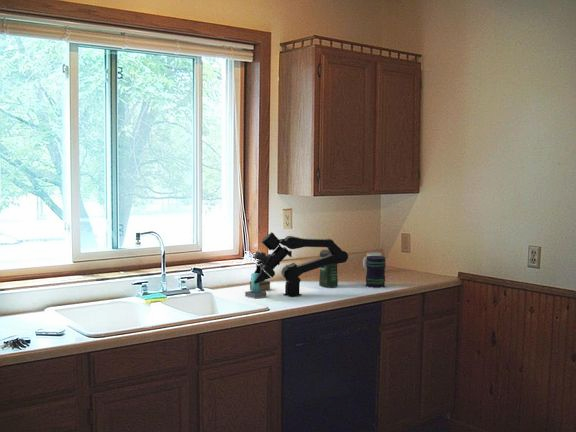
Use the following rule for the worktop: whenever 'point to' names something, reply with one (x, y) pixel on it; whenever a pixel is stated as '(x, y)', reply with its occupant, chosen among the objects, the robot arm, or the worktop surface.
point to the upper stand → (262, 285)
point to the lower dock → (257, 295)
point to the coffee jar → (328, 273)
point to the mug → (370, 255)
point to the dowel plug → (254, 286)
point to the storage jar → (375, 271)
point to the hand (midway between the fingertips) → (252, 281)
